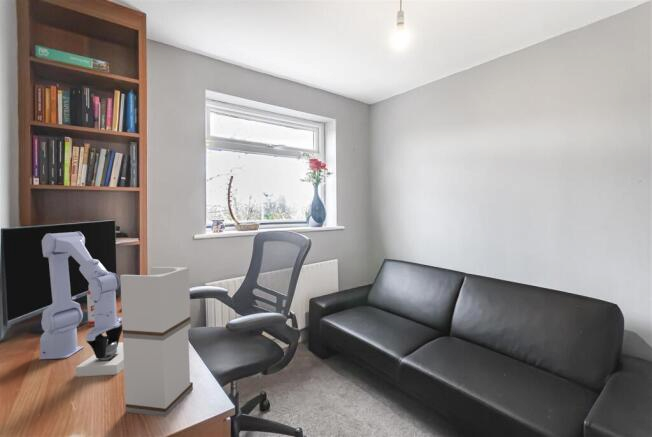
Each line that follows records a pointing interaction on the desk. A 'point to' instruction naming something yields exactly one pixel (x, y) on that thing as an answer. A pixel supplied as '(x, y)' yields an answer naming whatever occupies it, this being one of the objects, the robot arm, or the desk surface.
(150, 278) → the tall white square container
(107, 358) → the cylinder
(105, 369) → the plate
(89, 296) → the beer can
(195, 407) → the desk surface
